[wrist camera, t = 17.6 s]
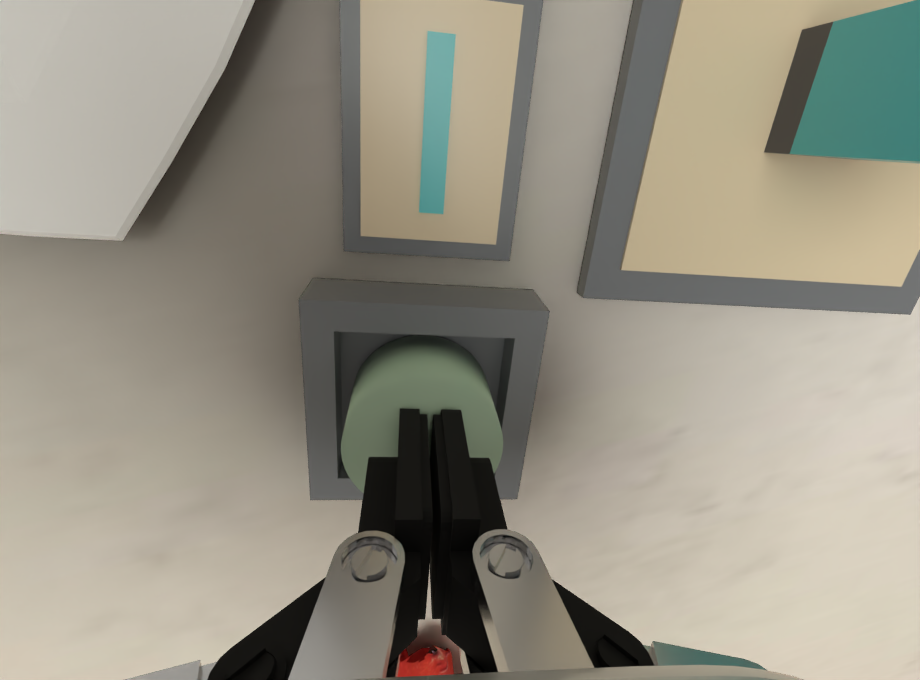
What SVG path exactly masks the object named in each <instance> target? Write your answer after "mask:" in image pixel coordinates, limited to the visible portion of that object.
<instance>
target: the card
mask: <svg viewBox="0 0 920 680" xmlns="http://www.w3.org/2000/svg"><path fill="white" fill-rule="evenodd" d="M542 6H543V0H340V55H341V116H342V177H343V237H344V251H349V252H366V253H382V254H399V255H416V256H432V257H449V258H466V259H482V260H499V261H510V253H511V245H512V237H513V230H514V222H515V214H516V207H517V199H518V191H519V183H520V176H521V168H522V160H523V153H524V145H525V137H526V129H527V122H528V114H529V106H530V99H531V91H532V83H533V75H534V68H535V60H536V52H537V45H538V37H539V29H540V22H541V14H542Z"/></svg>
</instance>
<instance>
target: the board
mask: <svg viewBox="0 0 920 680" xmlns="http://www.w3.org/2000/svg"><path fill="white" fill-rule="evenodd" d="M910 1H914V0H634V2H633V7H632V12H631V17H630V22H629V28H628V33H627V38H626V43H625V48H624V53H623V58H622V64H621V69H620V74H619V79H618V84H617V89H616V94H615V100H614V105H613V110H612V115H611V120H610V125H609V130H608V135H607V141H606V146H605V151H604V156H603V161H602V166H601V171H600V177H599V182H598V187H597V192H596V197H595V202H594V207H593V213H592V218H591V223H590V228H589V233H588V238H587V243H586V248H585V254H584V259H583V264H582V269H581V274H580V279H579V284H578V290H577V293H579V294H580V295H581V296H582V297H583V298H594V299H614V300H634V301H653V302H673V303H692V304H712V305H732V306H751V307H771V308H791V309H810V310H830V311H849V312H869V313H889V314H908V315H910V314H911V312H912V310H913V308H914V306H915V304H916V302H917V300H918V298H919V297H920V164H916V163H900V162H884V161H868V160H853V159H841V158H828V157H815V156H803V155H790V154H778V153H765V152H764V150H765V147H766V144H767V141H768V137H769V134H770V131H771V128H772V124H773V121H774V118H775V115H776V112H777V108H778V105H779V102H780V99H781V96H782V92H783V89H784V86H785V83H786V79H787V76H788V73H789V70H790V67H791V63H792V60H793V57H794V54H795V51H796V47H797V44H798V41H799V38H800V34H801V31H802V30H803V29H807V28H811V27H814V26H818V25H822V24H826V23H830V22H834V21H838V20H841V19H845V18H849V17H853V16H857V15H861V14H864V13H868V12H872V11H876V10H880V9H884V8H887V7H891V6H895V5H899V4H903V3H907V2H910Z"/></svg>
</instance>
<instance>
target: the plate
mask: <svg viewBox="0 0 920 680" xmlns="http://www.w3.org/2000/svg"><path fill="white" fill-rule="evenodd" d="M254 2H255V0H0V234H11V235H21V236H36V237H56V238H76V239H95V240H115V241H123V240H124V238H125V236H126V235H127V233H128V232H129V230H130V228H131V227H132V225H133V224H134V222H135V220H136V219H137V217H138V216H139V214H140V212H141V211H142V209H143V208H144V206H145V204H146V203H147V201H148V200H149V198H150V196H151V195H152V193H153V192H154V190H155V188H156V187H157V185H158V184H159V182H160V180H161V179H162V177H163V176H164V174H165V172H166V171H167V169H168V168H169V166H170V164H171V163H172V161H173V159H174V157H175V156H176V154H177V152H178V150H179V149H180V147H181V145H182V143H183V142H184V140H185V138H186V136H187V135H188V133H189V131H190V129H191V128H192V126H193V124H194V122H195V121H196V119H197V117H198V115H199V114H200V112H201V110H202V108H203V107H204V105H205V103H206V101H207V100H208V98H209V96H210V94H211V93H212V91H213V89H214V87H215V86H216V84H217V82H218V80H219V79H220V77H221V75H222V73H223V72H224V70H225V68H226V65H227V63H228V61H229V59H230V56H231V54H232V52H233V49H234V47H235V45H236V43H237V40H238V38H239V36H240V34H241V31H242V29H243V27H244V25H245V22H246V20H247V18H248V15H249V13H250V11H251V9H252V6H253V4H254Z"/></svg>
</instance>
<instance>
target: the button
mask: <svg viewBox="0 0 920 680" xmlns="http://www.w3.org/2000/svg"><path fill="white" fill-rule="evenodd" d="M400 408H405V409H420V414H427V418H428V436H429V454H430V450H431V436H432V422H433V414H440V412H441V409H453V410H461V412H462V417H463V423H464V428H465V434H466V440H467V445H468V451H469V456H470V458H489V459H490V461H491V464H492V468H493V472H494V473H495V471H496V469H497V468H498V465H499V463H500V460H501V456H502V452H503V434H502V430H501V426H500V423H499V419H498V416H497V413H496V410H495V406H494V403H493V400H492V396H491V393H490V390H489V387H488V383H487V380H486V377H485V374H484V372H483V370H482V368H481V366H480V364H479V363H478V361H477V360H476V359H475V358H474V357H473V355H471V354H470V353H469V352H468V351H467V350H466V349H464V348H463V347H461V346H460V345H458V344H456V343H454V342H452V341H450V340H447V339H444V338H440V337H436V336H427V335H415V336H408V337H404V338H400V339H396V340H394V341H391V342H389V343H387V344H385V345H384V346H382V347H380V348H379V349H377V350H376V351H375V352H373V353H372V354H371V355H370V356H369V357H368V358H367V359H366V361H365V362H364V363H363V365H362V366H361V368H360V370H359V371H358V373H357V376H356V378H355V382H354V386H353V391H352V395H351V400H350V404H349V409H348V413H347V418H346V422H345V427H344V431H343V436H342V440H341V456H342V461H343V465H344V468H345V470H346V472H347V474H348V476H349V478H350V479H351V481H352V482H353V483H354V484H355V486H356V487H357V488H358V489H359V490H360V491H361V492H363V493H364V486H365V479H366V471H367V464H368V458H369V457H398V438H399V416H400Z"/></svg>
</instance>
